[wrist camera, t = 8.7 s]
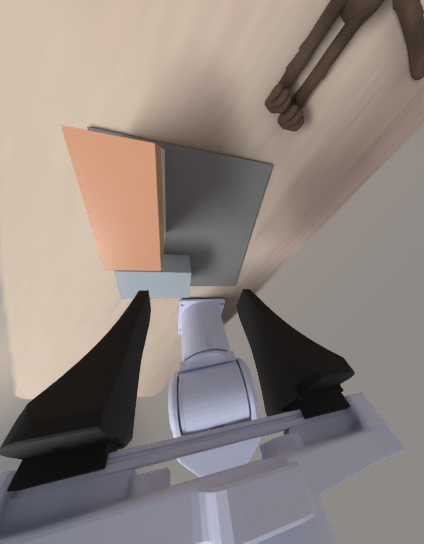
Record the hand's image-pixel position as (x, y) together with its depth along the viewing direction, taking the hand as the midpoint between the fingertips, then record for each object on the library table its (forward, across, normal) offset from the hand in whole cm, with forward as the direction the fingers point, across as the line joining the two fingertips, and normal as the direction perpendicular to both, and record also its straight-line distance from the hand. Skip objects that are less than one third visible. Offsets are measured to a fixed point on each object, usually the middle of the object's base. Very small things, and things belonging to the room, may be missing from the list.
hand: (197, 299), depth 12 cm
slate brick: (+10, +4, +4) cm, 12 cm away
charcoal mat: (+10, 0, -1) cm, 10 cm away
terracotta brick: (+6, +5, -5) cm, 9 cm away
